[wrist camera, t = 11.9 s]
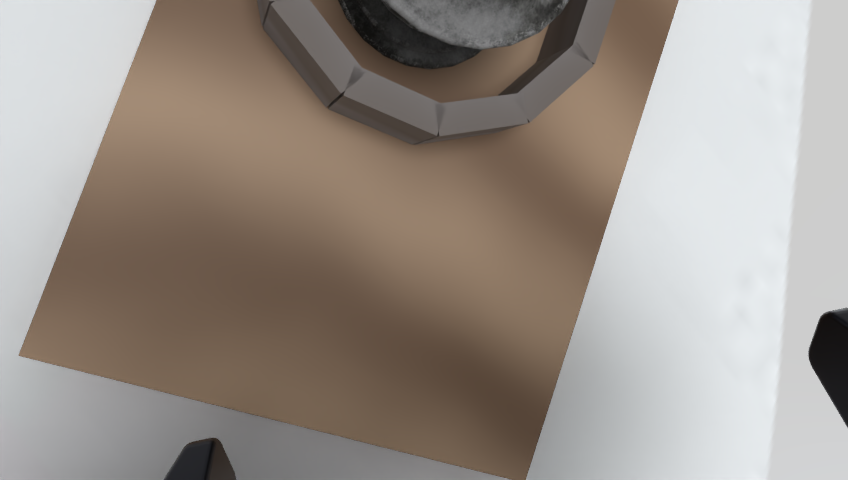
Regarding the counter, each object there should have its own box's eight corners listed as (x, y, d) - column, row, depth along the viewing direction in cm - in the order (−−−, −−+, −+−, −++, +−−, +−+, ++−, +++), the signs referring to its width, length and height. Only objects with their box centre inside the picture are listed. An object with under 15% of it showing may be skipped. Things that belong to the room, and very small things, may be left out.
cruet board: (506, 467, 20) (559, 511, 17) (31, 345, 16) (-9, 375, 13) (672, -45, 22) (747, -87, 19) (276, -287, 17) (292, -393, 14)
